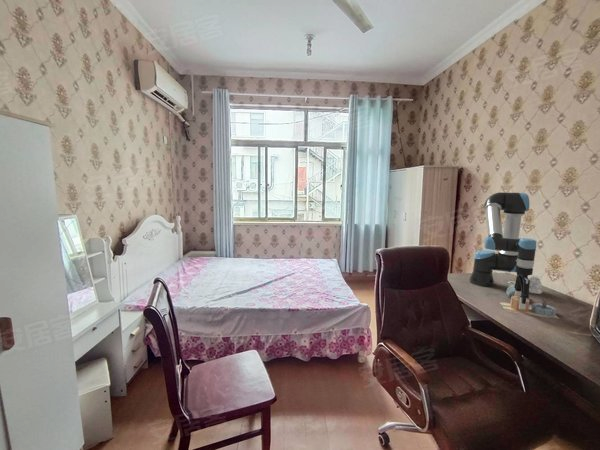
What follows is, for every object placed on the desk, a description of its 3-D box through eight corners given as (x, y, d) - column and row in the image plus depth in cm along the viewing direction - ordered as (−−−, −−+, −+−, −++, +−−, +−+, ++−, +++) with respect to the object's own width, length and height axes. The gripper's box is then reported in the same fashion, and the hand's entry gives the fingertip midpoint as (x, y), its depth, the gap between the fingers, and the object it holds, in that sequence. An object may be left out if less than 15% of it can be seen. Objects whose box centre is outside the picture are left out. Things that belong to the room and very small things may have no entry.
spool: (529, 299, 172) (521, 283, 176) (510, 303, 177) (503, 287, 180) (528, 298, 183) (520, 282, 187) (510, 302, 188) (503, 286, 191)
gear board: (499, 303, 175) (500, 290, 174) (549, 310, 166) (551, 297, 165) (505, 312, 163) (506, 299, 162) (559, 320, 154) (561, 306, 152)
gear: (528, 306, 168) (529, 301, 168) (551, 310, 165) (552, 305, 164) (534, 314, 159) (535, 309, 159) (559, 317, 155) (559, 312, 155)
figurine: (521, 287, 203) (523, 272, 202) (538, 289, 200) (540, 274, 198) (527, 293, 192) (529, 277, 191) (544, 295, 189) (546, 279, 187)
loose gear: (508, 304, 171) (509, 294, 170) (525, 307, 168) (526, 297, 167) (512, 310, 164) (513, 300, 163) (530, 312, 161) (531, 302, 160)
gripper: (511, 261, 174) (506, 297, 177) (522, 271, 154) (517, 311, 157) (526, 262, 171) (521, 299, 174) (540, 273, 151) (534, 314, 154)
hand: (519, 305), depth 166 cm, fingers open, 9 cm apart
